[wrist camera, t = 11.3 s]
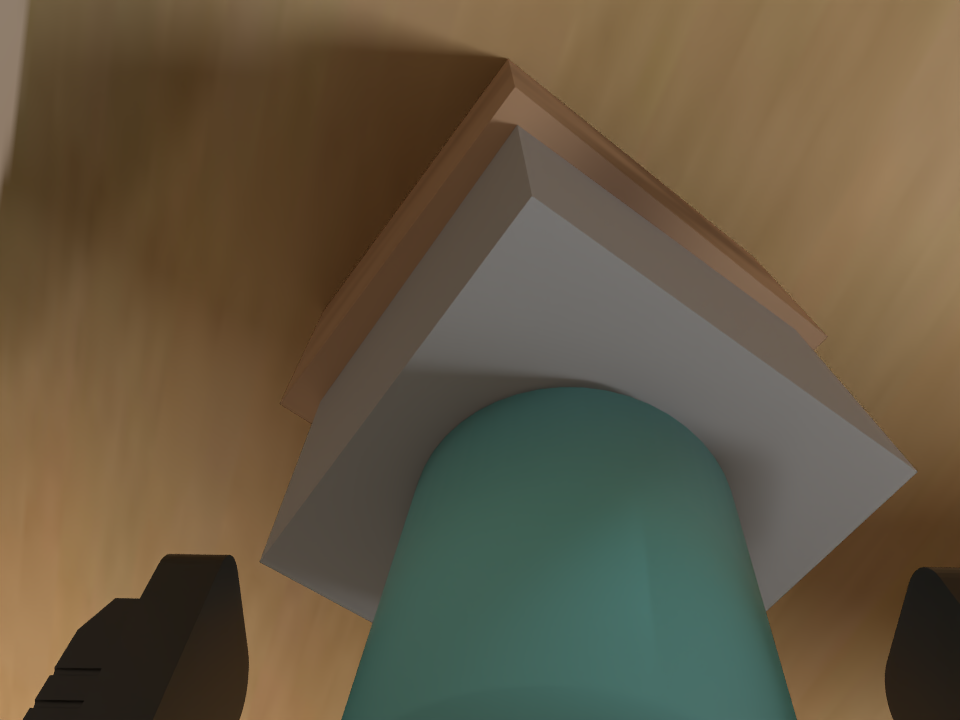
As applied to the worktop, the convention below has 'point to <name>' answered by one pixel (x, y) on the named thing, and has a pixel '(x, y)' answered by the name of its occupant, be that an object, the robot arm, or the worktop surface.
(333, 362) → the tower base
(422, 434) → the grey cube
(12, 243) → the worktop surface
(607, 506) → the teal cylinder
